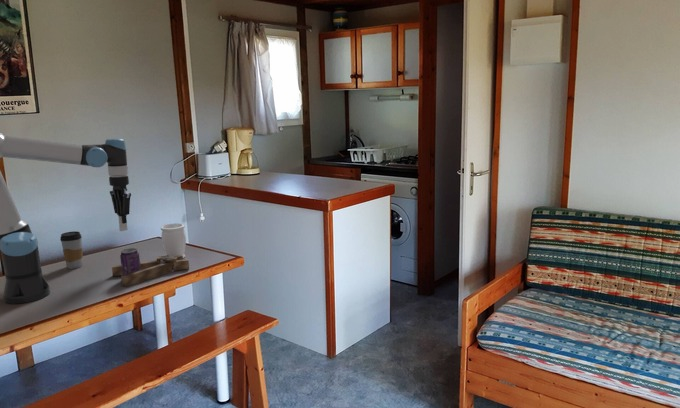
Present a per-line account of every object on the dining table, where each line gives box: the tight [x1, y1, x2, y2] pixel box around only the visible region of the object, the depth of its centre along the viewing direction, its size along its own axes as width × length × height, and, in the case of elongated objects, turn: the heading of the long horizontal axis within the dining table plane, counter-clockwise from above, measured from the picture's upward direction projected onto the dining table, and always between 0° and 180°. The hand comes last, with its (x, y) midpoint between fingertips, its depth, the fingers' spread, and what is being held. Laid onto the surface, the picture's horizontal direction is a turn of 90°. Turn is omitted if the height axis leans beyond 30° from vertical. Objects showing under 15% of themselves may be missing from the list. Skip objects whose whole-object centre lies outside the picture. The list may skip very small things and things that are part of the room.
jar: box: [160, 222, 187, 259], centre depth 238 cm, size 11×10×15 cm
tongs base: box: [120, 255, 184, 288], centre depth 217 cm, size 30×6×4 cm, turn 143°
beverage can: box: [119, 247, 141, 276], centre depth 212 cm, size 7×7×12 cm
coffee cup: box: [59, 230, 84, 270], centre depth 230 cm, size 8×8×15 cm
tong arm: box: [111, 255, 190, 277], centre depth 220 cm, size 30×6×5 cm, turn 111°
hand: (123, 230), depth 225 cm, fingers closed
